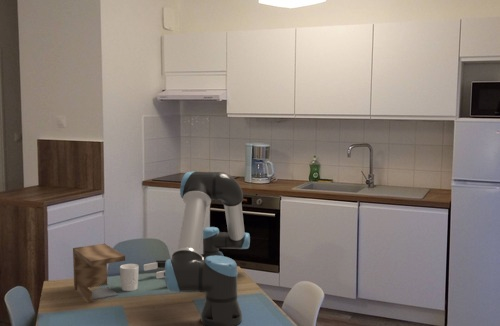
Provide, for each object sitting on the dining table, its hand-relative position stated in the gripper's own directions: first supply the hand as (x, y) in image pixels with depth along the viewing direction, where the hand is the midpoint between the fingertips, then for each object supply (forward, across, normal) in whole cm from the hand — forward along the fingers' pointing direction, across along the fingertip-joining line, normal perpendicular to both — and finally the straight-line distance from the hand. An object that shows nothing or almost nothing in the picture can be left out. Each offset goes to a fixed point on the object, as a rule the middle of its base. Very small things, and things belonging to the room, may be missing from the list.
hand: (150, 271), depth 244 cm
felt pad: (+23, 0, -6) cm, 23 cm away
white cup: (+10, 0, -6) cm, 11 cm away
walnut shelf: (+23, +1, -6) cm, 24 cm away
